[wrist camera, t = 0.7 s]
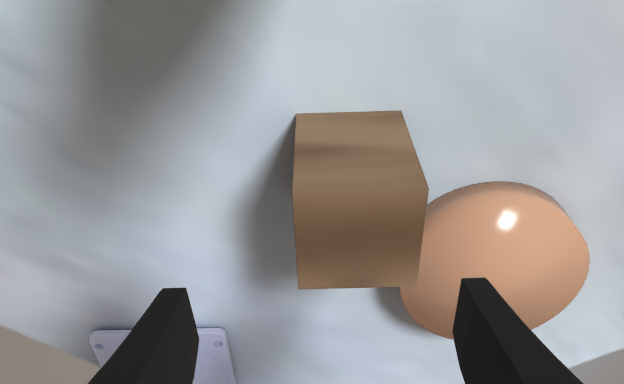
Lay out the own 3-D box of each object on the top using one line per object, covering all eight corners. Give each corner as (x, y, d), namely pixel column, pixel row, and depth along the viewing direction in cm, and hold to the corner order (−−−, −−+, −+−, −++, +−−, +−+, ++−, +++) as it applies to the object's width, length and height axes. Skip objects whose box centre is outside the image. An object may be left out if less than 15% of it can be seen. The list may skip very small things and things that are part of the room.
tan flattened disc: (547, 311, 28) (562, 339, 26) (389, 314, 28) (394, 343, 27) (593, 178, 23) (615, 203, 21) (400, 183, 23) (407, 209, 22)
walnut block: (394, 196, 24) (416, 286, 19) (300, 198, 24) (298, 289, 19) (400, 110, 21) (429, 188, 16) (296, 113, 21) (292, 192, 16)
